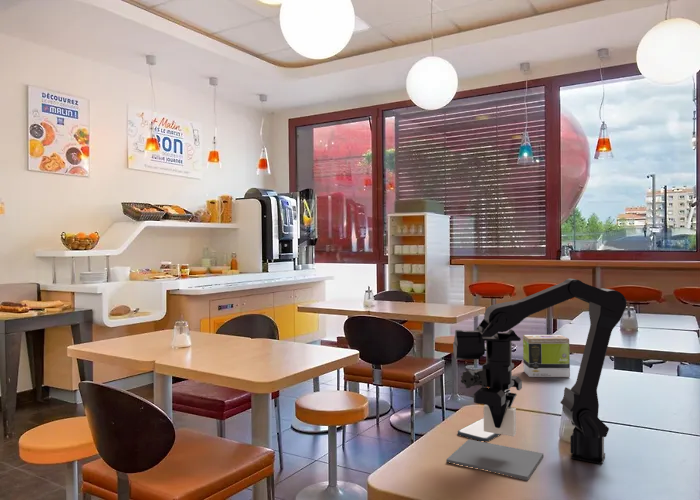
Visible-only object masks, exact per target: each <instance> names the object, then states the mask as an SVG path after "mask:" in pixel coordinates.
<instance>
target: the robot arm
mask: <svg viewBox="0 0 700 500" xmlns="http://www.w3.org/2000/svg"><path fill="white" fill-rule="evenodd" d="M573 298H576V299H578V300H580V301H582V302H585V303H586V304H587V303H588V304H589V305H588V316H589V322H590V326H589V330H588V332H587V333H588V334H587V338H586V341H585V345H584V350H583V353H582V357H581V362H580V365H579V368H578V369H579V370H578V373H577V377H576V381H575V383H574V384H573V385H572V387H571V388H569V387H564V390H563V398H562V400H561V401H560V404H561V405H562V412H563V414H564V415H565V417H567V419H568V420H570V424H571V425H572V426H574V428H573V429H572V433H571V434H570V446H569V447H570V448H569V449H570V454H571V456H570V457H571V459H572V460H577V461H583V462H589V463H594V464H599V465H602V464H603V462H604V460H605V458H606V453H605V438H606V437H607V436H608V432H609V430H610V428H609V427H608V426H607V425H606V424H605V423H604V422H603V421H602V420H601V419H600V418H599V407H600V404H599V397H598V387H599V383H600V379H601V376H602V371H603V367H604V362H605V359H606V355H607V351H608V348H609V343H610V339H611V336H612V332H613V329H614V328H615V327H616V326H617V325H618V324H619V322H620V321H621V320H622V317H623V315H624V313H625V310H626V309H627V306H628V305H627V304H628V301H627V298H626V297H625V296H624V294H623V293H621V292H620V291H618V290H615V289H608V288H603V287H602V288H599V287H597V286H596V287H595V286H593V285H590V284H588V283H585V282H583V281H582V280H579V279H575V278H567V279H565V280H563V282H562V281H561V282H560V283H557V284H555V285H553V286H550V287H547V288H546V289H545V288H544V289H543V290H541V291H538V292H536V293H533V294H531V295H528V296H525V297H523V298H521V299H517V300H511V301H505V302H499V303H495V304H492V305H490V306H488V307H487V308H486V309H485V312H484V315H483V320H482V321H481V322H480V323H479V324H478V326H477V327H476V329H475V330H463V329H455V330H454V338H453V342H452V343H453V345H452V348H453V349H452V350H453V357H454V360H480V359H481V358H483V357H484V356H485V358H486V359H485V360H486V361H485V363H484V364H483V365H482V368H478V369H474V370H472V369H468V370H464V371H463V372H462V375H461V376H460V377H461V380H460V383H462V384H463V385H464V387H465V389H470V388H471V387H475V386H478V385H481V387H480V388H479V389H478V390H476V391H475V392H474V393H473V403H474V404H477V405H483V406H484V405H488V406H489V408H490V411H491V415H492V418H493V421H494V425H495V427H496V428H500V427H501V424H502V422H503V419H504V416H505V413H506V410H507V408H508V407H512V406H513V403H514V401H515V399H516V396H517V393H516V392H514V393H513V392H511V389H512V388H515V389H516V391H520V390H522V389H523V380H522V379H521V378H520V377H519V376H517V375H512V373H513V372H512V369H513V368H515V363H514V362H512V360H513V359H512V351H513V349H512V342H520V341H521V337H520V336H518V335H517V333H516V332H515V330H513V328H515V327H516V326H518V325H519V324H520V323H522V321H524V320H525V319H527V318H528V317H530V316H531V315H534V314H536V313H539V312H541V311H544V310H546V309H548V308H551V307H554V306H557V305H558V304H559V305H560V304H561V303H564V302H566V301H568V300H571V299H573Z"/></svg>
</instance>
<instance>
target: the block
mask: <svg viewBox="0 0 700 500" xmlns="http://www.w3.org/2000/svg"><path fill="white" fill-rule="evenodd" d="M483 418H484V431H485V432H491V433H496V434H501V435H503V436H507V437H515V436H516V434H517V407H512V406H511V407H508V408H507V410H506V413H505V416H504V419H503V422H502V424H501V427H500V428H496V427H495V425H494V421H493V418H492V415H491V411H490V408H489V406H488V405H484V404H483Z"/></svg>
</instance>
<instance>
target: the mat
mask: <svg viewBox="0 0 700 500" xmlns="http://www.w3.org/2000/svg"><path fill="white" fill-rule="evenodd" d="M543 458H544V452H538V451H532V450H527V449H522V448H518V447H517V448H516V447H512V446H507V445H502V444H501V445H500V444H496V443H490V442H481V441H477V440H473V439H470V438H467V440H466V441H465V442H464V443H463V444H461V446H459V447H458V448H457V450H455V451H454V452H453V453H451V455H449V456H448V457H447V458H446V459H445V461H446V462H450V463H455V464H459V465H463V466H468V467H473V468H478V469H484V470H488V471H491V472H496V473H500V474H504V475H508V476H507V477H509V476H512V477H511V478H513V477H515V478H514V479H518V478H519V480H523V481H529V479H530V478H531V476H532V475H533V474H534V472H535V470H536V468H537V467H538V465H540V463H541V461H542V460H543ZM463 466H462V467H463ZM504 475H503V476H504Z"/></svg>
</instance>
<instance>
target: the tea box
mask: <svg viewBox="0 0 700 500" xmlns="http://www.w3.org/2000/svg"><path fill="white" fill-rule="evenodd" d="M522 348H523V349H522V352H523V353H522V355H523V356H522V359H523V361H522V362H523V372H524V374H526V375H527V376H528V377H529V378H570V377H571V365H570V364H571V363H570V361H571V360H570V357H571V356H570V353H571V352H570V339H569V338H568V337H565V336H564V335H563V334H523V335H522Z"/></svg>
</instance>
